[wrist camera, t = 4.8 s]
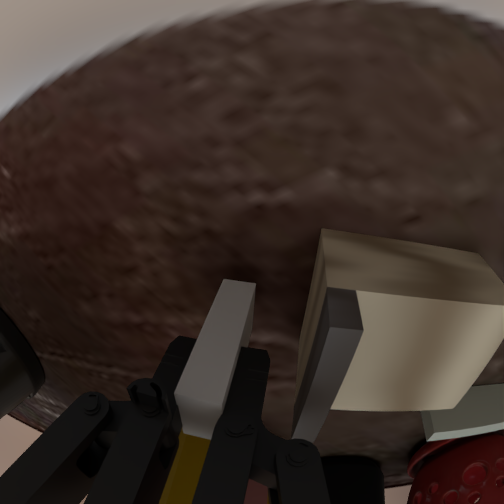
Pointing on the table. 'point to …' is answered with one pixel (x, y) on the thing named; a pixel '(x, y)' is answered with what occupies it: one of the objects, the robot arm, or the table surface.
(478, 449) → the plant pot
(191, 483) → the alarm clock
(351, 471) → the coffee jar
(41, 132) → the table surface
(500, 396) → the dock
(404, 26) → the table surface
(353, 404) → the beige block
